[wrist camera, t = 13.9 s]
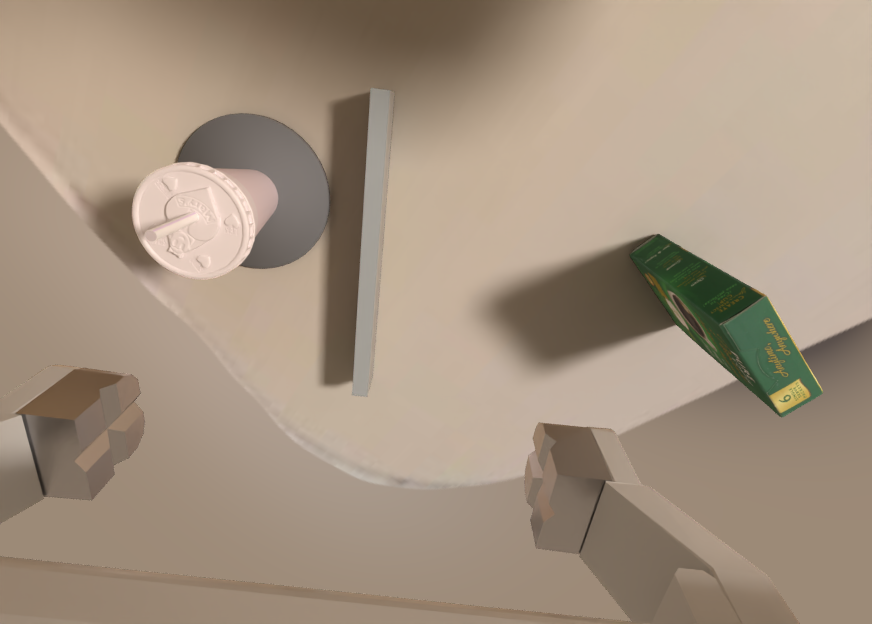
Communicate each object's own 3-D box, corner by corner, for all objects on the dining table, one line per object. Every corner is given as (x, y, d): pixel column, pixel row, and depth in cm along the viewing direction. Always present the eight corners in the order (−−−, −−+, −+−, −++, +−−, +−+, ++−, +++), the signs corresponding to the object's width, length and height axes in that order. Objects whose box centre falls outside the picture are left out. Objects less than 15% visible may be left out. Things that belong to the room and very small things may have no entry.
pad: (172, 104, 34) (168, 104, 33) (332, 123, 34) (331, 124, 34) (184, 258, 38) (181, 259, 37) (327, 274, 38) (326, 276, 38)
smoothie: (313, 184, 35) (240, 228, 22) (271, 255, 37) (182, 333, 24) (231, 129, 34) (103, 143, 21) (192, 206, 36) (54, 262, 23)
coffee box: (709, 308, 39) (831, 396, 27) (677, 328, 40) (782, 424, 28) (659, 230, 37) (768, 289, 25) (626, 253, 38) (716, 322, 25)
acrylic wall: (377, 90, 33) (370, 87, 30) (394, 92, 33) (390, 90, 30) (358, 373, 42) (352, 395, 38) (373, 374, 42) (367, 396, 38)
